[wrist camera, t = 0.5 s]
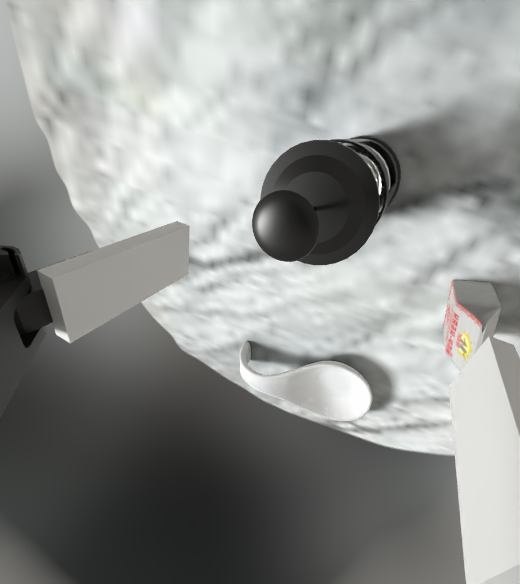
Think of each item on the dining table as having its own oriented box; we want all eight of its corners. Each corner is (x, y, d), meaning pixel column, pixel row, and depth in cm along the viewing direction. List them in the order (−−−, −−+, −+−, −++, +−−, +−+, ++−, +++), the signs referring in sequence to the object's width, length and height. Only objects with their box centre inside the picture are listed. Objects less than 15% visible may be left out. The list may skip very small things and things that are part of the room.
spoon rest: (380, 361, 44) (373, 394, 38) (369, 414, 49) (362, 450, 44) (245, 324, 54) (223, 347, 48) (248, 372, 59) (229, 397, 53)
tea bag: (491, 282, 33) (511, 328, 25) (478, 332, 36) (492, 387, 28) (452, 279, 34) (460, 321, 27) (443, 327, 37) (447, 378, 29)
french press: (420, 142, 30) (411, 150, 12) (391, 228, 35) (354, 326, 17) (313, 130, 34) (188, 123, 16) (300, 209, 39) (193, 271, 21)
